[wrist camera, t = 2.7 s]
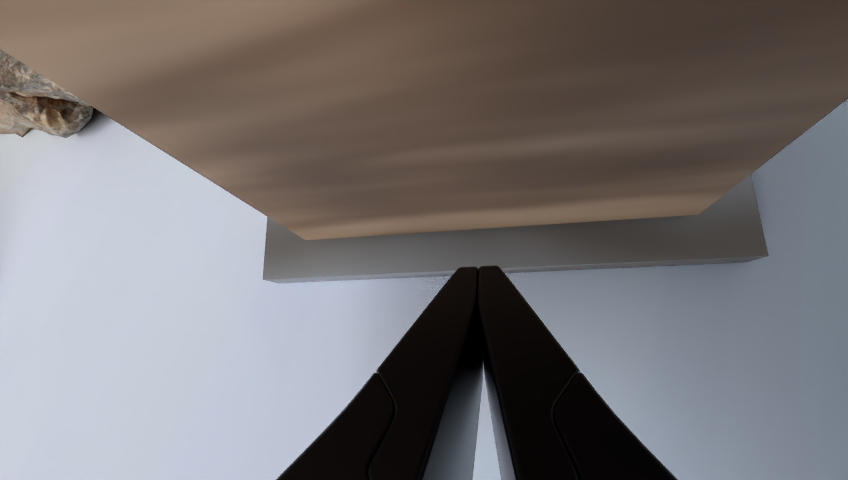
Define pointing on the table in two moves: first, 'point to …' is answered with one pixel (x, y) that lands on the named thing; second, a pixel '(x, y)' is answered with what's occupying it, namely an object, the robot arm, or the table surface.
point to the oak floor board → (528, 246)
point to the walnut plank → (450, 100)
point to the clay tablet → (37, 102)
